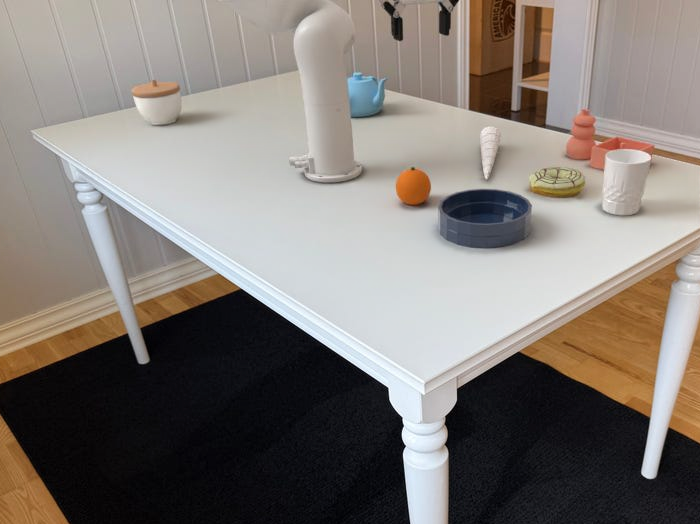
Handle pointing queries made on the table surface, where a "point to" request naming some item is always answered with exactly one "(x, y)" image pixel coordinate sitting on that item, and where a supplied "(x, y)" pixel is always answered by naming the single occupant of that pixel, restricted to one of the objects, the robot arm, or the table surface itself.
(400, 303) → the table surface
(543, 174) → the decorated donut
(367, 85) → the teapot
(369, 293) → the table surface
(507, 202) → the blue bowl
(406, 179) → the orange
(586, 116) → the pottery
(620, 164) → the white cup
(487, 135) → the unicorn horn
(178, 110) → the lidded bowl
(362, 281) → the table surface
